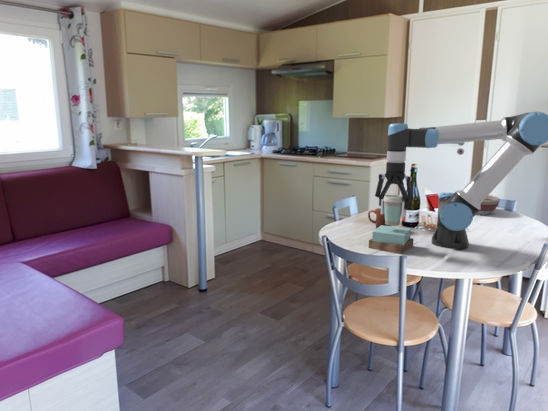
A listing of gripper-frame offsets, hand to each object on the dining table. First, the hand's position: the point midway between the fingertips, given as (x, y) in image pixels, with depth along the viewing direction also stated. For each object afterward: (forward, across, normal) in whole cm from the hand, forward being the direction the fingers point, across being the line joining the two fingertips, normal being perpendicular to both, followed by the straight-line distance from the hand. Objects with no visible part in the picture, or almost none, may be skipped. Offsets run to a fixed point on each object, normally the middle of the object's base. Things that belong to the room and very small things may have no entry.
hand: (392, 215), depth 186 cm
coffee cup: (+4, 0, 0) cm, 4 cm away
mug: (+14, +16, -25) cm, 33 cm away
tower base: (+15, 0, 0) cm, 15 cm away
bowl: (+14, -11, -94) cm, 96 cm away
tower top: (+11, 0, 0) cm, 11 cm away
